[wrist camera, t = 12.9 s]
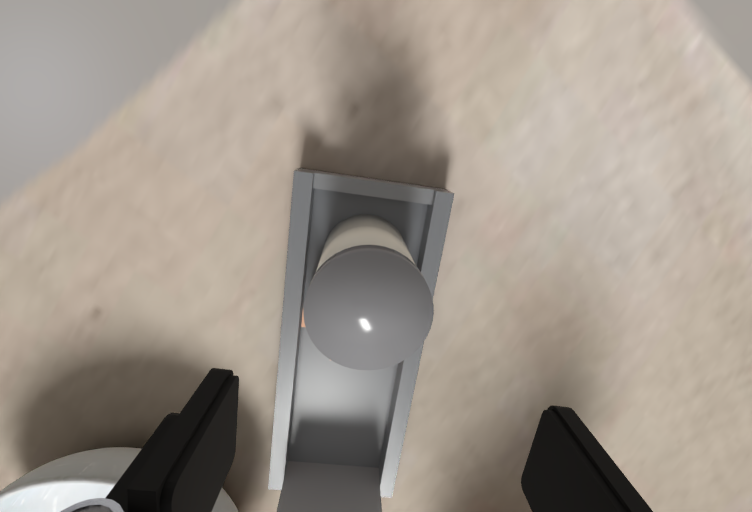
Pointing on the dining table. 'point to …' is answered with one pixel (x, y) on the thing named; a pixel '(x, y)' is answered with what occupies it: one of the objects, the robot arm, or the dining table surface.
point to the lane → (333, 381)
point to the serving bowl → (77, 482)
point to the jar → (367, 296)
